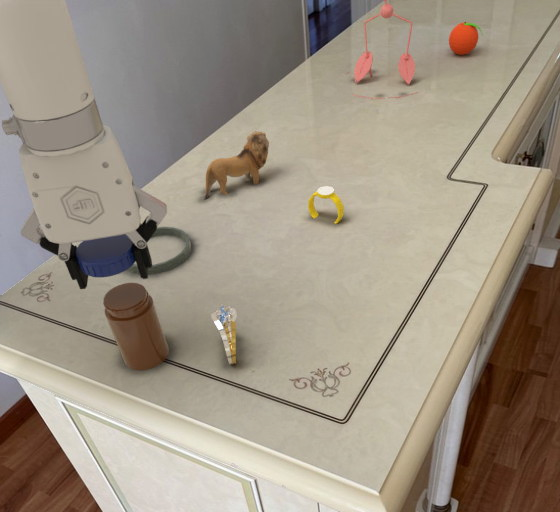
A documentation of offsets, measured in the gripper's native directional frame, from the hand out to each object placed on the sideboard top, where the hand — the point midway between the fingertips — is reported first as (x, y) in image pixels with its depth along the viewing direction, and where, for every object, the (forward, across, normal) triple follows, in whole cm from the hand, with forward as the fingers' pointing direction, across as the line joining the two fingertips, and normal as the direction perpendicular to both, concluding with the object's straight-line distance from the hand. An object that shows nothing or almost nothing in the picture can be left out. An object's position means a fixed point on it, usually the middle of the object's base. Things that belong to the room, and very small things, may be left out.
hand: (114, 276), depth 69 cm
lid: (-4, 0, 0) cm, 4 cm away
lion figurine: (+14, +18, +42) cm, 48 cm away
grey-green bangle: (+14, +2, +24) cm, 27 cm away
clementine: (+13, +79, +91) cm, 121 cm away
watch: (+13, +30, +25) cm, 42 cm away
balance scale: (+13, +54, +79) cm, 97 cm away
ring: (+13, +12, -3) cm, 18 cm away
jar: (+13, +1, 0) cm, 13 cm away
